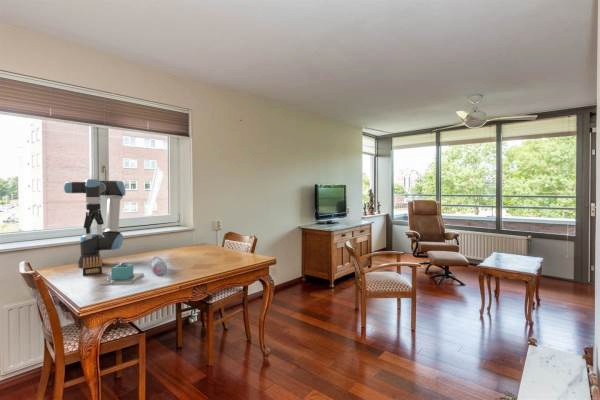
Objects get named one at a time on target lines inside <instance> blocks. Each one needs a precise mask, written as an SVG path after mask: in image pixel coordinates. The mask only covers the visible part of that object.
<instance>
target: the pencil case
mask: <svg viewBox="0 0 600 400" xmlns="http://www.w3.org/2000/svg"><path fill="white" fill-rule="evenodd" d="M149 266H150V270H152V272H153V273H154V275H156V276H162V275H164V274H165V273H166V272H167V268H168V267H167V264H166V263H165V262H164V261H163V259H162V258H161V257H160V256H154V257H152V258H151V259H150V262H149Z"/></svg>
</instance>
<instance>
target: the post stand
mask: <svg viewBox="0 0 600 400" xmlns="http://www.w3.org/2000/svg"><path fill="white" fill-rule="evenodd" d="M119 264H120V267H125V264H126V262H120V263H119ZM143 276H144V272H136V273H135V272H133V275H132V276H131V277H130V278H128V279H113V280H112V275H110V276H108V277H107V278H104V279H103V280H101V281H100V282H99V285H100V286H106V285H108V286H109V285H112V286H113V285H132V284H134V283H135V282H136V281H137V280H139V279H141V278H142V277H143Z"/></svg>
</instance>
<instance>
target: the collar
mask: <svg viewBox="0 0 600 400" xmlns="http://www.w3.org/2000/svg"><path fill="white" fill-rule="evenodd" d="M110 269H111V270H110V271H111V273H110V274H111V275H110V276H112V280H113V279H128V278H130V277H131V276H132V275H133V273H134V263H133V264H132V263H127V264H126V263H125V267H120V263H118V264H117V265H115V266H113V267H111V268H110Z"/></svg>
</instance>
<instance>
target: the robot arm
mask: <svg viewBox="0 0 600 400" xmlns="http://www.w3.org/2000/svg"><path fill="white" fill-rule="evenodd" d="M63 191H64V193H66V194H85V203H86V205H85V208H86V210H87V211H86V212H85V218H84V222H83V229H85V234H83V235H81V236H80V238H79V239H80V241H79V243H80V257H79V259H78V262H77V267H78V268H83V259H84V258H85V262H86V260H87V257H88V259H89V263H90V257H91V258H92V267H93V257H95V263H96V257H98V262H99V257H100V256H101V254H100V252H101V251H115V250H116V251H117V250H120V249H121V247H122V245H123V241H124V235H123V233H122V231H120V230H119V227H120V225H119V224H120V211H121V210H120V208H121V200H123V198H124V196H126V186H125V182H124V181H121V180H100V179H97V178H96V179H95V178H93V179H92V178H91V179H90V178H89V179H87V178H86V179H85V181H66V182H64V185H63ZM101 196H105V199H106V200H107V201H106V212H105V213H106V214H105V215H106V216H105V228H104V230H103V225H104V218H103V215H102V210H101V204H100V203H101ZM94 220H95V222H96V232H93V233H92V228H91V226H92V224H93V222H94ZM101 261H102V265H103V263H104V262H103V259H102V257H101Z"/></svg>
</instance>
